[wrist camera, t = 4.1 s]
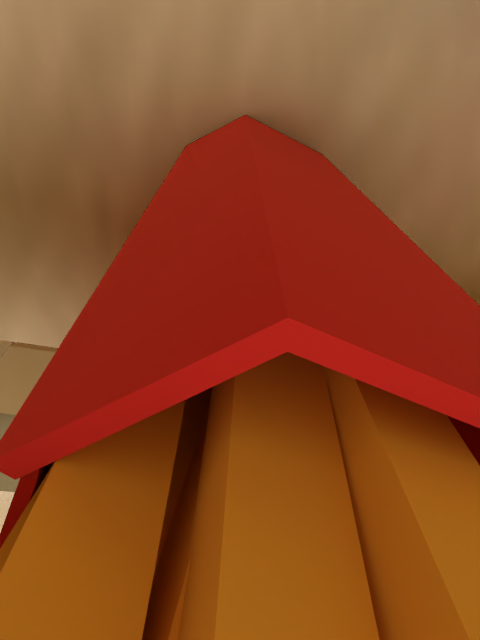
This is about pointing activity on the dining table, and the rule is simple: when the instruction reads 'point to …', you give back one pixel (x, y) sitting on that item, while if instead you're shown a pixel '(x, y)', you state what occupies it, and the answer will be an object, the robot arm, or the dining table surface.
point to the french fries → (252, 424)
